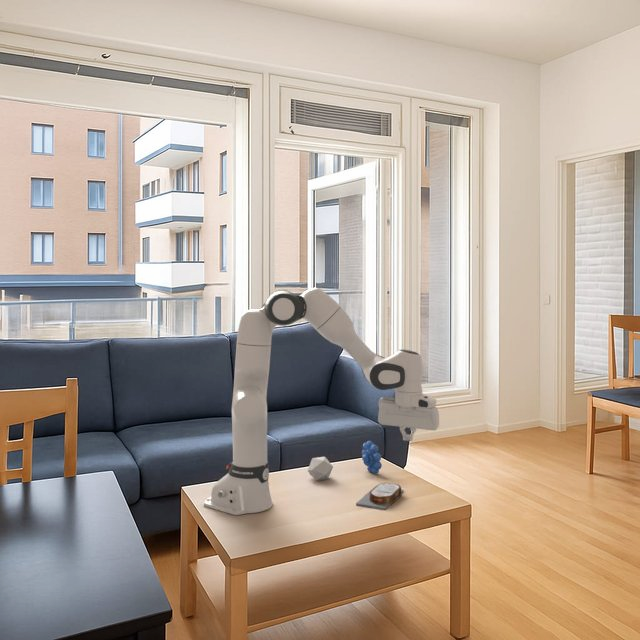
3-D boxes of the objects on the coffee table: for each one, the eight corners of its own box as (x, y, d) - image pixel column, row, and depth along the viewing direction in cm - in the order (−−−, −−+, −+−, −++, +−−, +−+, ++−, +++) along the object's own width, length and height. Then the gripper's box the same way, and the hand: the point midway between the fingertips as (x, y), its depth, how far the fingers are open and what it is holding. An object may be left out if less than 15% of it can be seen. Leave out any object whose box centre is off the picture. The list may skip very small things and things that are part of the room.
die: (327, 475, 234) (311, 455, 234) (341, 469, 229) (325, 448, 229) (315, 488, 228) (299, 468, 228) (329, 482, 223) (313, 461, 223)
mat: (356, 505, 202) (356, 503, 202) (376, 487, 219) (376, 485, 219) (385, 509, 198) (385, 508, 197) (403, 491, 215) (403, 489, 215)
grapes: (353, 470, 239) (353, 439, 238) (368, 467, 242) (368, 437, 241) (370, 478, 229) (370, 446, 228) (385, 475, 232) (385, 444, 231)
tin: (404, 491, 213) (381, 489, 216) (404, 482, 213) (380, 480, 216) (390, 506, 199) (365, 503, 203) (389, 496, 199) (365, 494, 203)
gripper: (375, 397, 206) (374, 438, 207) (436, 403, 197) (435, 446, 198) (382, 394, 212) (381, 434, 212) (441, 400, 203) (440, 441, 204)
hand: (407, 440), depth 205 cm, fingers closed
